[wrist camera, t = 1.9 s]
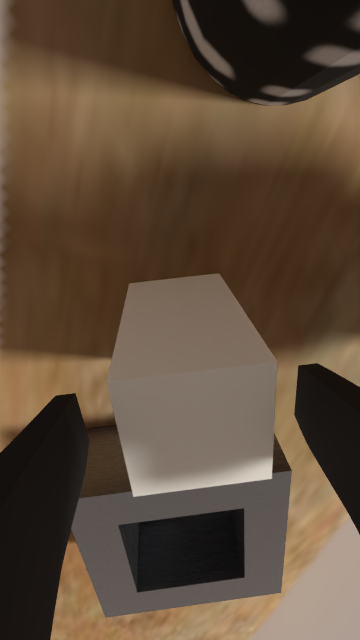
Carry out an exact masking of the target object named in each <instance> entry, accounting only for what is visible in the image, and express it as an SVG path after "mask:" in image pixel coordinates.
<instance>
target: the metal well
mask: <svg viewBox="0 0 360 640" xmlns="http://www.w3.org/2000/svg"><path fill="white" fill-rule="evenodd" d="M86 431H87V435H88V438H89V448H88V457H87V464H86V471H85V476H84V480H83V484H82V488H81V492H80V496H79V500H78V504H77V508H76V512H75V516H74V519H73V523H72V527H71V530H72V532H73V535H74V537H75V540H76V543H77V545H78V548H79V550H80V553H81V555H82V558H83V561H84V563H85V566H86V568H87V571H88V573H89V576H90V579H91V581H92V584H93V586H94V589H95V592H96V594H97V597H98V599H99V602H100V604H101V607H102V610H103V612H104V615H105V617H113V616H120V615H127V614H134V613H141V612H148V611H155V610H162V609H169V608H176V607H184V606H191V605H198V604H205V603H212V602H219V601H226V600H233V599H240V598H247V597H254V596H261V595H268V594H275V593H281V587H282V576H283V564H284V553H285V541H286V530H287V518H288V507H289V496H290V484H291V473H292V470H291V468H290V466H289V464H288V462H287V460H286V457H285V455H284V453H283V451H282V449H281V447H280V445H279V442H278V440H277V438H276V436H275V434H274V444H273V464H272V479H267V480H259V481H251V482H244V483H236V484H228V485H221V486H213V487H205V488H198V489H190V490H182V491H175V492H167V493H159V494H152V495H144V496H136V497H133V493H132V489H131V485H130V480H129V476H128V472H127V467H126V463H125V459H124V455H123V450H122V446H121V442H120V438H119V433H118V429H117V425H116V426H108V427H100V428H92V429H86Z"/></svg>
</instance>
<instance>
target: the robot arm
mask: <svg viewBox="0 0 360 640" xmlns="http://www.w3.org/2000/svg"><path fill="white" fill-rule="evenodd" d="M294 415H295V417H296V420H297V422H298V424H299V427H300V429H301V431H302V434H303V436H304V438H305V440H306V442H307V444H308V446H309V448H310V450H311V451H312V453H313V455H314V456H315V458H316V460H317V461H318V463H319V465H320V467H321V468H322V470H323V472H324V473H325V475H326V477H327V478H328V480H329V482H330V483H331V485H332V487H333V488H334V490H335V492H336V493H337V495H338V497H339V498H340V500H341V502H342V503H343V505H344V507H345V508H346V510H347V512H348V513H349V515H350V517H351V519H352V521H353V523H354V524H355V526H356V528H357V530H358V532H359V534H360V387H359V386H357V385H355V384H353V383H352V382H350V381H348V380H346V379H345V378H343V377H341V376H339V375H338V374H336V373H334V372H332V371H331V370H329V369H327V368H325V367H323V366H321V365H319V364H317V363H316V364H308V365H300V366H298V378H297V390H296V402H295V414H294ZM88 448H89V438H88V435H87V431H86V428H85V424H84V421H83V418H82V414H81V411H80V407H79V404H78V400H77V397H76V394H75V393H74V394H65V395H57V396H55V397H54V398H53V399H52V400H51V401H50V402H49V403H48V404H47V405H46V406H45V407H44V408H43V409H42V411H41V412H40V413H39V414H38V415H37V416H36V417H35V418H34V419H33V420H32V421H31V422H30V423H29V424H28V425H27V426H26V427H25V428H24V429H23V430H22V432H21V433H20V434H19V435H18V436H17V437H16V438H15V439H14V440H13V441H12V442H11V443H10V444H9V445H8V446H7V447H6V448H5V449H4V450H3V451H2V452H1V453H0V640H50V637H51V631H52V624H53V617H54V611H55V605H56V599H57V593H58V587H59V581H60V575H61V569H62V564H63V560H64V555H65V551H66V547H67V543H68V539H69V535H70V531H71V527H72V523H73V519H74V516H75V512H76V508H77V504H78V500H79V496H80V492H81V488H82V484H83V480H84V476H85V471H86V464H87V457H88Z"/></svg>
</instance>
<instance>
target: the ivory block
mask: <svg viewBox="0 0 360 640" xmlns="http://www.w3.org/2000/svg"><path fill="white" fill-rule="evenodd" d="M276 381H277V360H276V359H275V357H274V356H273V354H272V353H271V351H270V350H269V348H268V347H267V345H266V344H265V342H264V340H263V339H262V337H261V336H260V334H259V333H258V331H257V330H256V328H255V327H254V325H253V324H252V322H251V321H250V319H249V318H248V316H247V315H246V313H245V312H244V310H243V309H242V307H241V306H240V304H239V303H238V301H237V299H236V298H235V296H234V295H233V293H232V292H231V290H230V289H229V287H228V286H227V284H226V283H225V281H224V280H223V278H222V277H221V275H220V274H219V273H217V274H208V275H199V276H190V277H181V278H172V279H163V280H154V281H145V282H136V283H129V287H128V291H127V295H126V300H125V304H124V308H123V313H122V317H121V321H120V326H119V330H118V334H117V339H116V343H115V347H114V352H113V356H112V361H111V365H110V369H109V374H108V378H107V386H108V391H109V395H110V399H111V403H112V408H113V412H114V416H115V421H116V425H117V429H118V433H119V438H120V442H121V446H122V450H123V455H124V459H125V463H126V467H127V472H128V476H129V480H130V485H131V489H132V493H133V497H136V496H144V495H152V494H159V493H167V492H175V491H182V490H190V489H198V488H205V487H213V486H221V485H228V484H236V483H244V482H251V481H259V480H267V479H272V464H273V444H274V423H275V402H276Z"/></svg>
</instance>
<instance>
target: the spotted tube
mask: <svg viewBox="0 0 360 640" xmlns="http://www.w3.org/2000/svg"><path fill="white" fill-rule="evenodd" d="M173 6H174V9H175V12H176V15H177V18H178V21H179V24H180V27H181V30H182V33H183V35H184V37H185V39H186V41H187V43H188V45H189V47H190V49H191V51H192V52H193V54H194V56H195V58H196V59H197V61H198V62H199V63H200V64H201V66H202V67H203V68H204V69H205V71H206V72H207V73H208V74H209V76H210V77H211V78H212V79H214V80H215V81H216V82H217V83H218V84H220V85H221V86H222V87H223V88H224V89H225V90H227V91H228V92H230V93H232V94H234V95H236V96H238V97H240V98H242V99H244V100H246V101H250V102H254V103H258V104H262V105H288V104H292V103H296V102H300V101H304V100H307V99H309V98H311V97H313V96H315V95H317V94H319V93H321V92H323V91H326V90H328V89H330V88H332V87H334V86H336V85H338V84H340V83H342V82H344V81H346V80H348V79H350V78H352V77H354V76H356V75H358V74H360V0H173Z"/></svg>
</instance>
